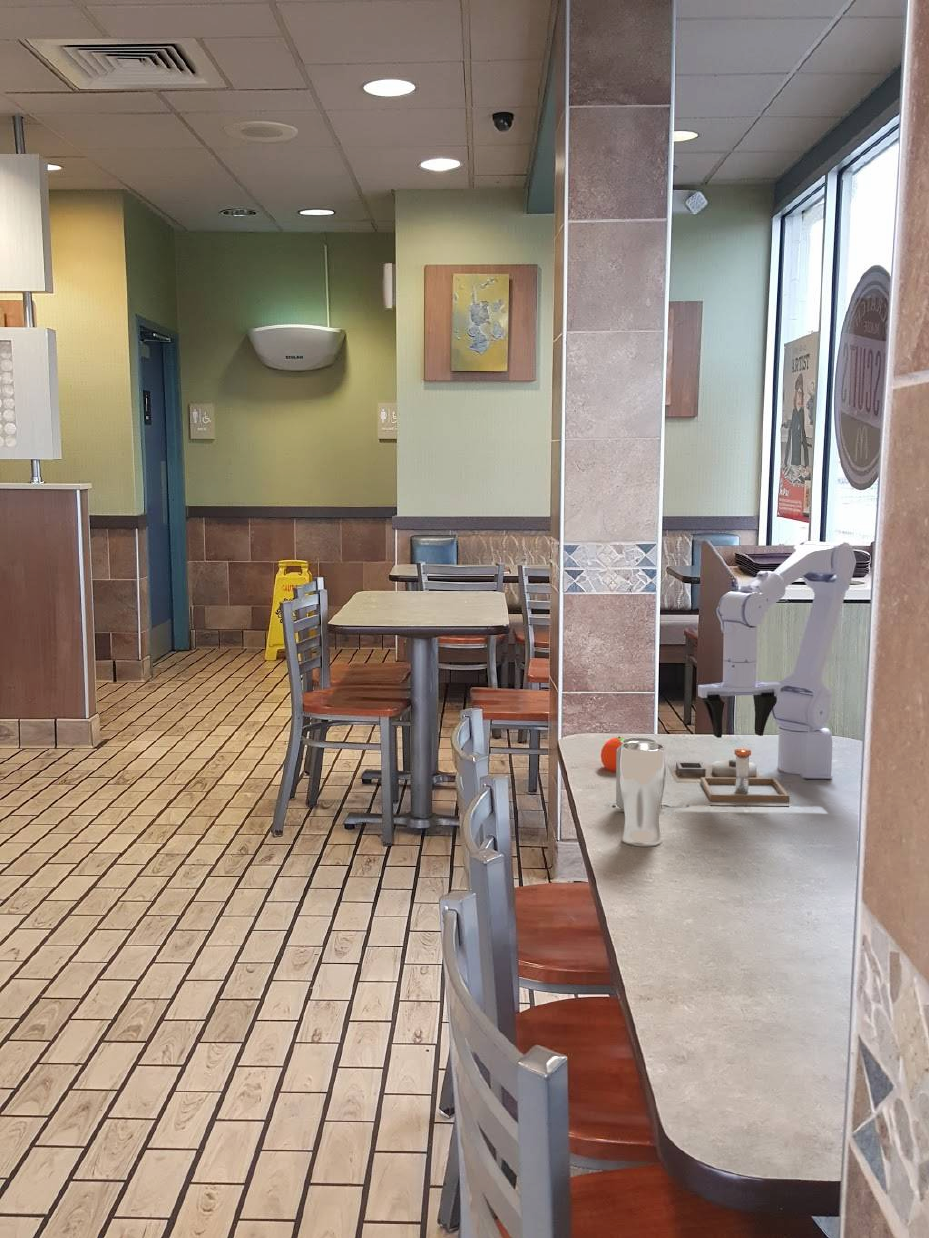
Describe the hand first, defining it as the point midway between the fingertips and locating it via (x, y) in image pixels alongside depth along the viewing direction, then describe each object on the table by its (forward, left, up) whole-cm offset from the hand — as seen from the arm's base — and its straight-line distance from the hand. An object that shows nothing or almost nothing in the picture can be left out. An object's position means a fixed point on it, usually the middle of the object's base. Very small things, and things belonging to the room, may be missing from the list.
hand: (738, 735), depth 199 cm
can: (+19, +12, -10) cm, 25 cm away
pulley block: (+3, -8, -10) cm, 13 cm away
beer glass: (+20, +28, -10) cm, 36 cm away
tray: (0, +4, -10) cm, 11 cm away
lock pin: (0, +4, -10) cm, 10 cm away
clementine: (+20, -11, -10) cm, 25 cm away
